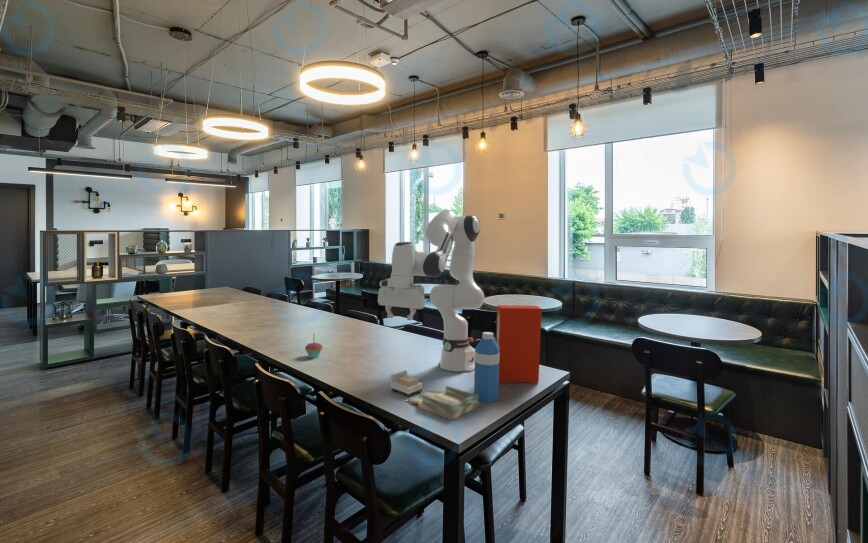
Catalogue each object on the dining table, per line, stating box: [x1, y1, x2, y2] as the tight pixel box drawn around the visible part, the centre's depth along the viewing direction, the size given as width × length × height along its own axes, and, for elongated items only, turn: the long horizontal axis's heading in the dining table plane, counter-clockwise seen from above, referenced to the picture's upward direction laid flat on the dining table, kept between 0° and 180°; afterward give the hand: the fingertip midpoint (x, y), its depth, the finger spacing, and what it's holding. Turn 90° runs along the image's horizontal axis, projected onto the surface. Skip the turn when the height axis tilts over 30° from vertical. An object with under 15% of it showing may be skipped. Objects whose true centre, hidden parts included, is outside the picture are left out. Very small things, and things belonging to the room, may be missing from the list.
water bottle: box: [473, 331, 500, 403], centre depth 157 cm, size 9×9×25 cm
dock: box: [407, 385, 480, 421], centre depth 151 cm, size 16×23×5 cm
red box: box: [495, 304, 543, 382], centre depth 177 cm, size 8×17×32 cm, turn 91°
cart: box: [390, 370, 424, 397], centre depth 162 cm, size 8×10×6 cm
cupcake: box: [304, 333, 324, 359], centre depth 207 cm, size 9×8×12 cm
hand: (399, 318), depth 160 cm, fingers open, 8 cm apart
